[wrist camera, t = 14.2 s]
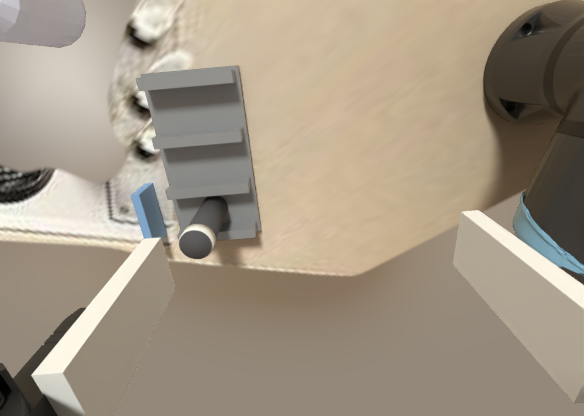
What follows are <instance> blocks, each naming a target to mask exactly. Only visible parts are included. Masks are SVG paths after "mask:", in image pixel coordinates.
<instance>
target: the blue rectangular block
mask: <svg viewBox="0 0 584 416" xmlns="http://www.w3.org/2000/svg"><path fill="white" fill-rule="evenodd" d="M131 198H132V202H133V205H134V208H135V211H136V214H137V217H138V221H139V224H140V227H141V230H142V233H143V236H144V239H148V238H159V237H161V239H163V238H164V236H165V235H166V234H167V233H166V230H165V226H164V222H163V219H162V215H161V212H160V208H159V205H158V201H157V197H156V194H155V190H154V187H153V183H148V184H144V185H143V186H142V187H140V188H139V189H138V190H137V191H136V192H134V193H133V194H132V195H131Z"/></svg>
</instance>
